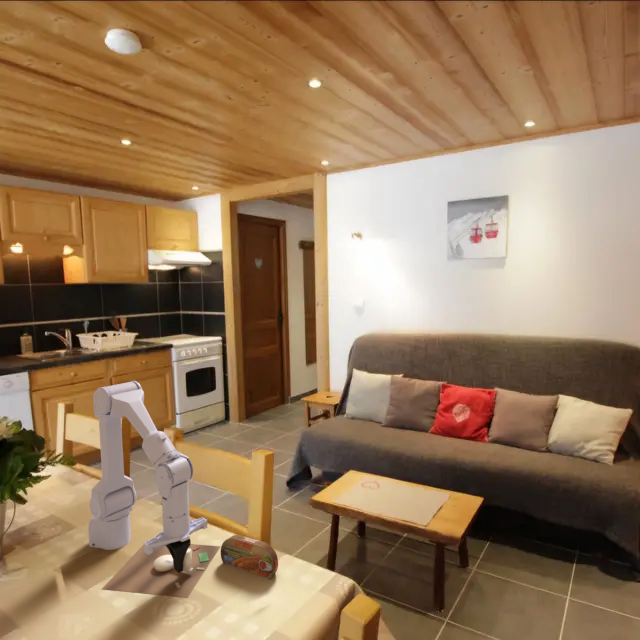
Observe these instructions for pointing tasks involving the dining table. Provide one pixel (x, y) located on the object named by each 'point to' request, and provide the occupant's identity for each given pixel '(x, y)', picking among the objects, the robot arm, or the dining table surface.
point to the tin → (250, 555)
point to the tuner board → (161, 573)
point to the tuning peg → (167, 562)
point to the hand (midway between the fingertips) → (178, 570)
